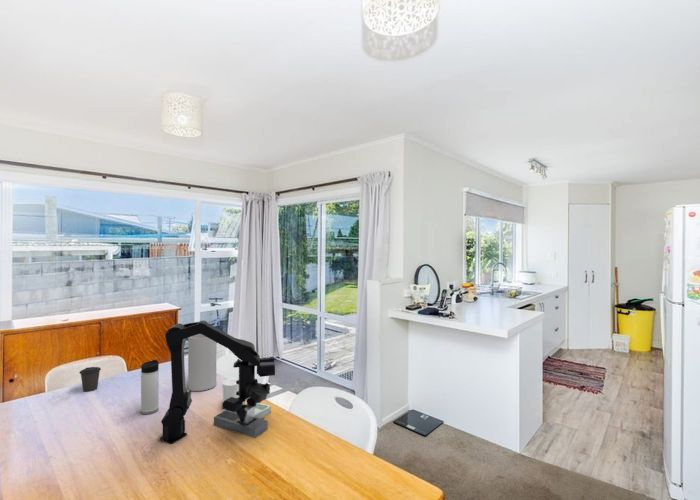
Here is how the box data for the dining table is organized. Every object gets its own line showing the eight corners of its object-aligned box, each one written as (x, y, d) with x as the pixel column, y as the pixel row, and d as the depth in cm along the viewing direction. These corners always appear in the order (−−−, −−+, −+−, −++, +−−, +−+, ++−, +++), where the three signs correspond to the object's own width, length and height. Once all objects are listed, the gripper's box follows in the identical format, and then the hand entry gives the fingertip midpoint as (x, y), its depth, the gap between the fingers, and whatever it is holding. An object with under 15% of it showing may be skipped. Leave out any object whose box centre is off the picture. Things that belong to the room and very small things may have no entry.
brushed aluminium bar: (246, 432, 125) (247, 410, 125) (238, 430, 127) (238, 408, 127) (254, 427, 129) (254, 406, 129) (246, 424, 131) (246, 403, 130)
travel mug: (162, 407, 144) (162, 360, 144) (152, 415, 138) (152, 365, 137) (148, 406, 145) (148, 359, 144) (137, 414, 138) (137, 364, 138)
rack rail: (254, 438, 122) (254, 429, 122) (213, 424, 130) (213, 416, 130) (267, 428, 128) (267, 420, 128) (227, 416, 137) (227, 409, 137)
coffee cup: (83, 387, 164) (83, 366, 164) (103, 385, 167) (103, 364, 167) (76, 394, 156) (76, 372, 156) (96, 391, 159) (96, 370, 159)
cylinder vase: (192, 382, 171) (192, 332, 171) (218, 380, 173) (218, 331, 173) (184, 392, 159) (184, 338, 158) (213, 390, 161) (213, 337, 161)
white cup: (238, 409, 143) (238, 385, 143) (219, 409, 143) (219, 385, 143) (244, 400, 151) (244, 378, 151) (226, 400, 151) (226, 378, 151)
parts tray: (254, 423, 131) (254, 416, 131) (234, 417, 136) (234, 411, 136) (270, 412, 140) (270, 406, 140) (251, 407, 145) (251, 401, 145)
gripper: (245, 391, 116) (245, 437, 116) (279, 372, 133) (279, 413, 133) (221, 385, 121) (221, 429, 121) (257, 368, 137) (257, 407, 138)
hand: (246, 419), depth 128 cm, fingers closed on brushed aluminium bar, 4 cm apart
